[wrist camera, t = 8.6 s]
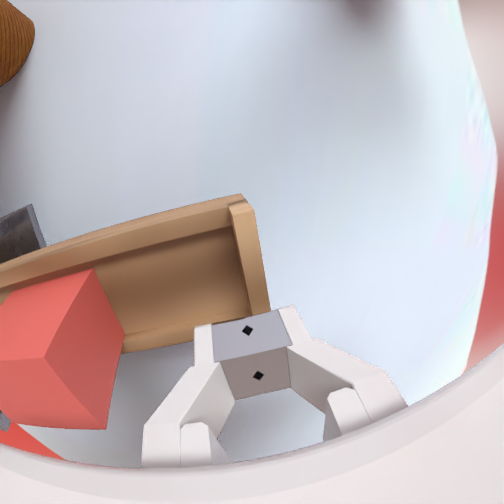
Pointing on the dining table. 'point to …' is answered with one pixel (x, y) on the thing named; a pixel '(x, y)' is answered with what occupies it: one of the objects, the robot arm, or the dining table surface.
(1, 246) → the stand
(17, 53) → the disposable coffee cup
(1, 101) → the dining table surface
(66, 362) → the rider
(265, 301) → the beam
